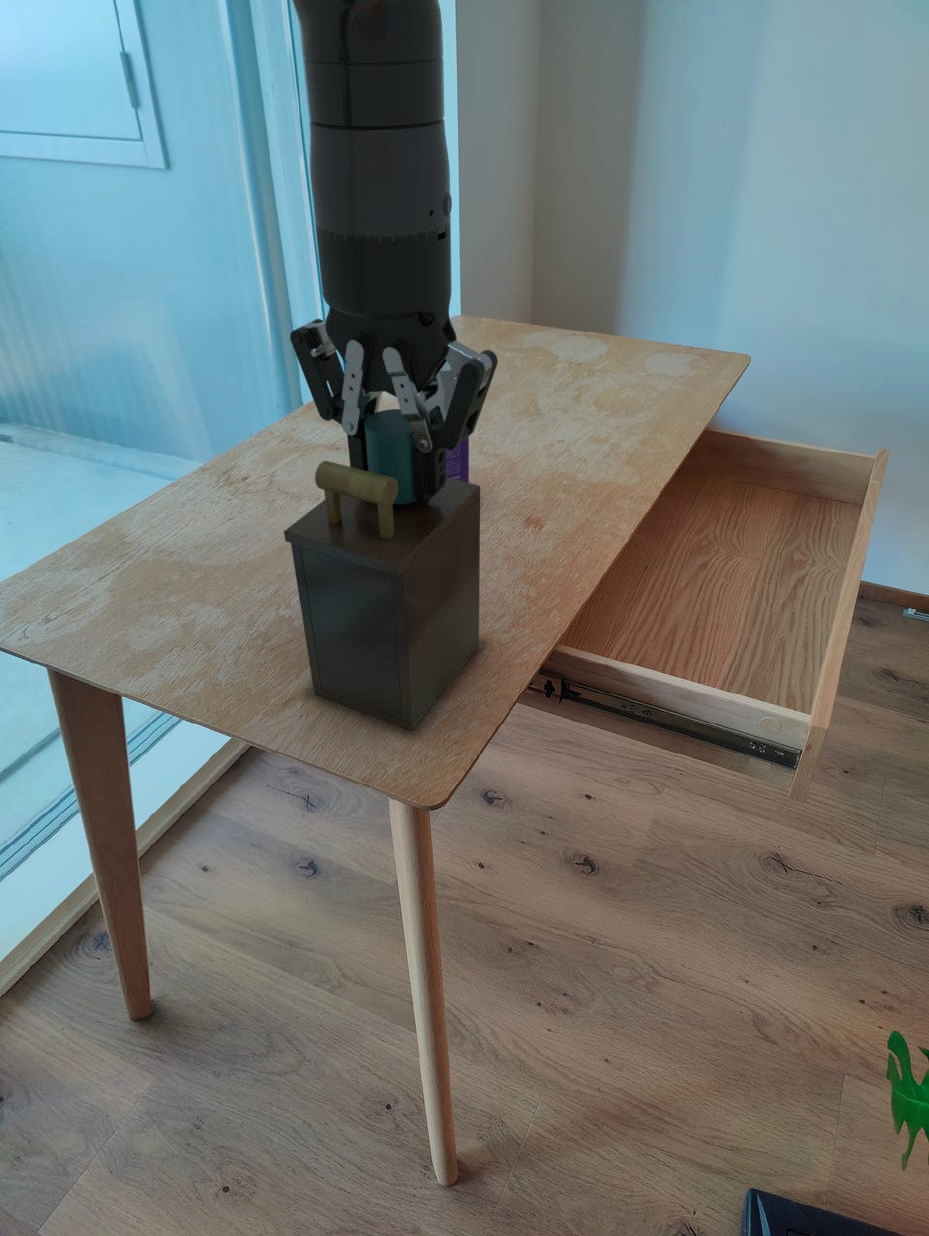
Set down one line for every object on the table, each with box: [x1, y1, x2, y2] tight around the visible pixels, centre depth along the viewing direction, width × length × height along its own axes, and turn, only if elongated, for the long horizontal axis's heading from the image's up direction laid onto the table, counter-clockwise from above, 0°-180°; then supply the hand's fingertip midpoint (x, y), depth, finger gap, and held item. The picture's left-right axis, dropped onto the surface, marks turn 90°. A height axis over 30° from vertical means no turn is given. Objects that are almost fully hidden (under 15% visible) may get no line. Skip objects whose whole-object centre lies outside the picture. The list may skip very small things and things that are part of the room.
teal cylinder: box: [364, 408, 417, 504], centre depth 55 cm, size 4×4×5 cm
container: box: [418, 361, 470, 483], centre depth 80 cm, size 5×5×15 cm
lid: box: [283, 460, 481, 576], centre depth 55 cm, size 11×9×5 cm
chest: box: [290, 495, 481, 732], centre depth 61 cm, size 11×9×14 cm
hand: (398, 487), depth 57 cm, fingers closed on teal cylinder, 4 cm apart
